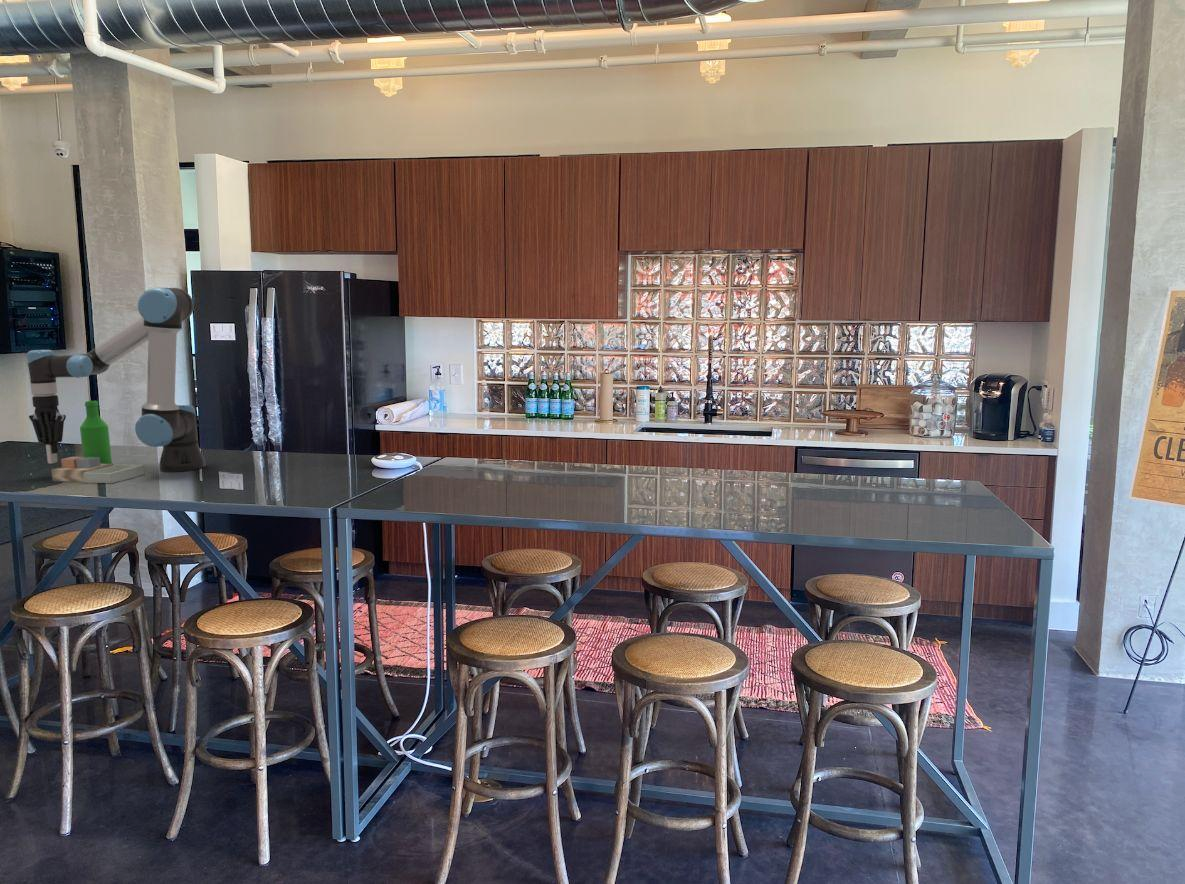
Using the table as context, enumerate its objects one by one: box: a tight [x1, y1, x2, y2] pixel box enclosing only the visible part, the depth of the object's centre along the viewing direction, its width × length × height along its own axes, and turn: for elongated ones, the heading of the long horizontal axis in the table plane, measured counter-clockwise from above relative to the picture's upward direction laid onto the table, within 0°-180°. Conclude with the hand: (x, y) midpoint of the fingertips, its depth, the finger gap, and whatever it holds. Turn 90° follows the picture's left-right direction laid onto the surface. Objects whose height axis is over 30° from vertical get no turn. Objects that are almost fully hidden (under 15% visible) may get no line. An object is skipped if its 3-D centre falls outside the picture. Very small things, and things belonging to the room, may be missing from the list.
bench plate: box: [51, 463, 114, 483], centre depth 297 cm, size 14×12×4 cm
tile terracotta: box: [60, 456, 85, 468], centre depth 297 cm, size 5×5×3 cm
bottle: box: [79, 400, 113, 464], centre depth 312 cm, size 9×9×25 cm
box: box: [83, 463, 146, 485], centre depth 294 cm, size 10×16×4 cm, turn 169°
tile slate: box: [76, 457, 101, 468], centre depth 296 cm, size 5×5×3 cm
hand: (52, 462), depth 299 cm, fingers closed
